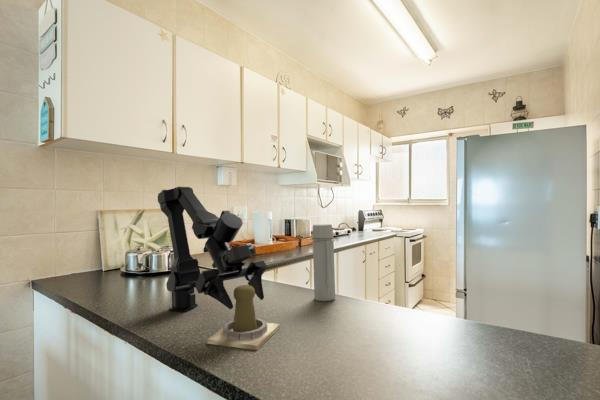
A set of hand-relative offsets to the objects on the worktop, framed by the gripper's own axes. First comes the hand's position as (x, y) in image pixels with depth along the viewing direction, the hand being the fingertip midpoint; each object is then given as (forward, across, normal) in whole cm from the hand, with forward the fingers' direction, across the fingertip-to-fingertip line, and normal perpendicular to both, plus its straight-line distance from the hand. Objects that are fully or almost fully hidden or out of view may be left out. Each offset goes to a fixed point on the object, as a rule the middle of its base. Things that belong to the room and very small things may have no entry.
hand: (247, 303), depth 76 cm
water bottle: (+3, +35, +9) cm, 36 cm away
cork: (+4, 0, +6) cm, 7 cm away
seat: (+5, 0, +7) cm, 8 cm away
